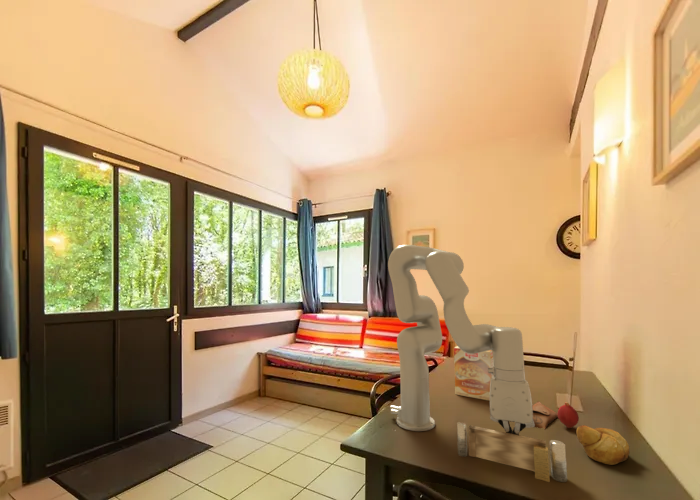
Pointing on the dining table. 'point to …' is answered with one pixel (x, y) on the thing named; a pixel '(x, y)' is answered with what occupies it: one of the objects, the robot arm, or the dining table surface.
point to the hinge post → (462, 439)
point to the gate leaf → (503, 447)
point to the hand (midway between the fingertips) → (513, 446)
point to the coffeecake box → (473, 373)
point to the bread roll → (603, 444)
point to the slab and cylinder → (556, 462)
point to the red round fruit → (568, 415)
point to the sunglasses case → (542, 415)
